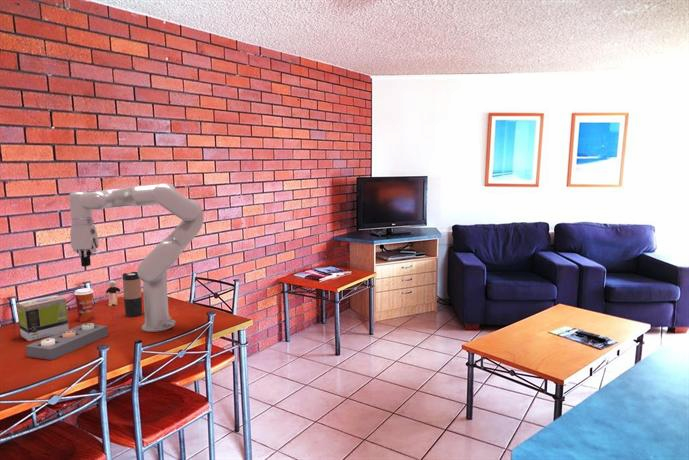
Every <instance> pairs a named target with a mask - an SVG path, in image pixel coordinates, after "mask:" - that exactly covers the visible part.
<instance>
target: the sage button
mask: <svg viewBox="0 0 689 460" xmlns="http://www.w3.org/2000/svg"><path fill="white" fill-rule="evenodd" d="M82 324H83V325H82ZM82 324H81V325H82V330H86V331H89V330H91V329H94V325H95V323H92V322H91V323H89V322H88V323H82Z"/></svg>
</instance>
